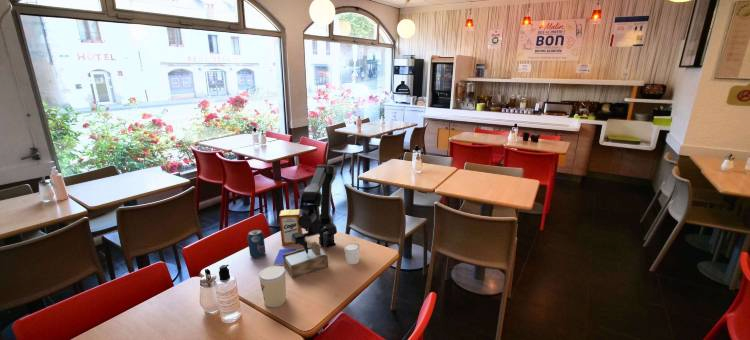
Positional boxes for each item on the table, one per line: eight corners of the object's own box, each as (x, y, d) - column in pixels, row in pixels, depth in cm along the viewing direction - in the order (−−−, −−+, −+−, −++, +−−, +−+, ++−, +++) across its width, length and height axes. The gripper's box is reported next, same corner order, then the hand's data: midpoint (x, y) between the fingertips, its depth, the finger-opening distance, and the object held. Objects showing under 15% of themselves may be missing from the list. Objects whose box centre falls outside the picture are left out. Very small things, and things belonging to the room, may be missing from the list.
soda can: (263, 259, 157) (259, 235, 154) (247, 259, 157) (244, 235, 154) (267, 251, 164) (265, 228, 160) (253, 251, 164) (250, 228, 160)
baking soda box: (302, 237, 176) (300, 208, 172) (301, 243, 170) (299, 213, 166) (283, 239, 175) (280, 209, 171) (282, 245, 169) (278, 215, 164)
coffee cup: (265, 293, 133) (261, 265, 129) (290, 291, 134) (287, 264, 130) (259, 309, 124) (255, 280, 121) (286, 307, 125) (282, 278, 121)
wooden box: (318, 256, 158) (317, 244, 157) (328, 267, 149) (327, 254, 148) (284, 266, 150) (282, 254, 149) (292, 279, 141) (291, 266, 140)
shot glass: (363, 260, 154) (362, 246, 152) (352, 266, 149) (351, 252, 147) (352, 255, 158) (352, 241, 156) (341, 261, 154) (340, 247, 152)
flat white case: (317, 248, 156) (316, 238, 155) (325, 257, 149) (325, 246, 147) (285, 258, 149) (283, 248, 147) (292, 268, 141) (290, 257, 140)
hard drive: (292, 262, 152) (296, 248, 164) (273, 263, 152) (279, 249, 163) (292, 265, 152) (296, 251, 164) (273, 266, 152) (279, 252, 164)
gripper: (325, 207, 158) (327, 238, 162) (285, 217, 148) (289, 249, 153) (336, 215, 149) (338, 247, 153) (294, 226, 139) (297, 260, 144)
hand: (316, 251), depth 151 cm, fingers open, 8 cm apart
